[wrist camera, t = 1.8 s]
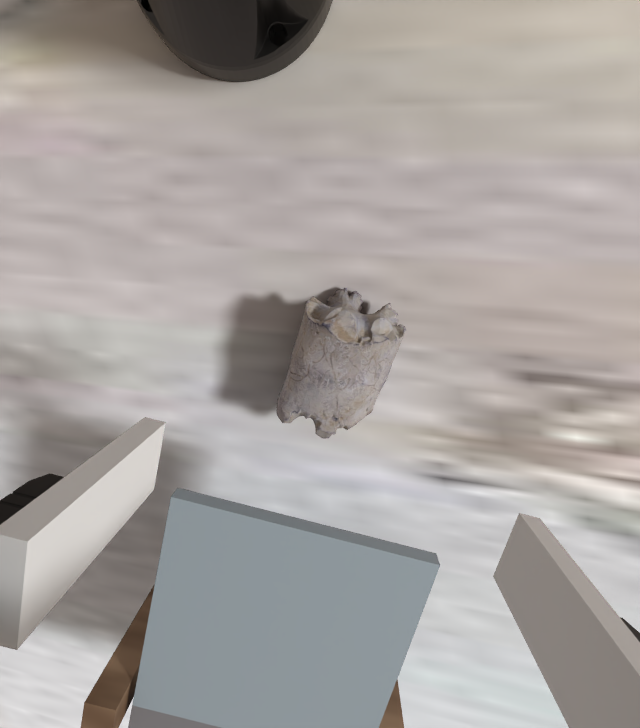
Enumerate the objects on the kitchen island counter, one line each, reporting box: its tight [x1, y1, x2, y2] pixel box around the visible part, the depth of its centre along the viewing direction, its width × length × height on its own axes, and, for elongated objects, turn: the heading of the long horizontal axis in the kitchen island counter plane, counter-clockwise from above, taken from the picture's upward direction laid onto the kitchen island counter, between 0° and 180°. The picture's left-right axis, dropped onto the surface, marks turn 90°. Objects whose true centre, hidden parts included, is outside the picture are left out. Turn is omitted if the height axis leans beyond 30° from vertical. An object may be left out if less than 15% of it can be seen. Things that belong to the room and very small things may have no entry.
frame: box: [81, 584, 404, 728], centre depth 34 cm, size 5×22×17 cm, turn 76°
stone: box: [277, 288, 406, 438], centre depth 34 cm, size 8×12×7 cm, turn 162°
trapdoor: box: [128, 488, 440, 728], centre depth 28 cm, size 24×16×4 cm, turn 166°
